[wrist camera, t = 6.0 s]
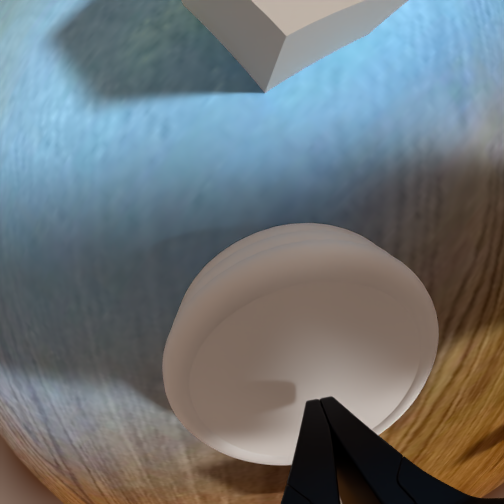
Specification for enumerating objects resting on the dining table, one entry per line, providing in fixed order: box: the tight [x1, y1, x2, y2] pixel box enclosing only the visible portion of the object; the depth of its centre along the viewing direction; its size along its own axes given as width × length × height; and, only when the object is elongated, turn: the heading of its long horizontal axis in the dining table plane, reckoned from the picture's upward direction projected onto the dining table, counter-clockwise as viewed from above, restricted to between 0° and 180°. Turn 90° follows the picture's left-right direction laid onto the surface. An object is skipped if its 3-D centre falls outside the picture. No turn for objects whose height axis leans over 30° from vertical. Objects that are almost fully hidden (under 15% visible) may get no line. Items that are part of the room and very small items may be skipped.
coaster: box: [162, 223, 439, 465], centre depth 10 cm, size 10×10×4 cm
